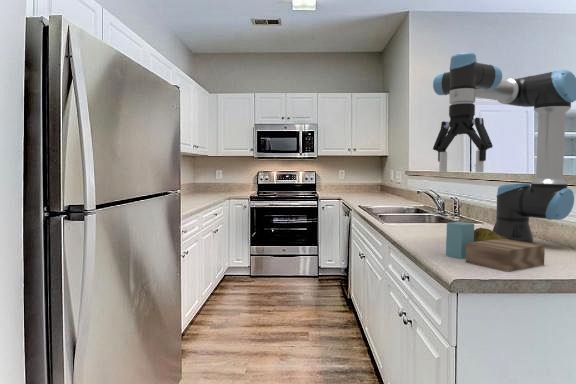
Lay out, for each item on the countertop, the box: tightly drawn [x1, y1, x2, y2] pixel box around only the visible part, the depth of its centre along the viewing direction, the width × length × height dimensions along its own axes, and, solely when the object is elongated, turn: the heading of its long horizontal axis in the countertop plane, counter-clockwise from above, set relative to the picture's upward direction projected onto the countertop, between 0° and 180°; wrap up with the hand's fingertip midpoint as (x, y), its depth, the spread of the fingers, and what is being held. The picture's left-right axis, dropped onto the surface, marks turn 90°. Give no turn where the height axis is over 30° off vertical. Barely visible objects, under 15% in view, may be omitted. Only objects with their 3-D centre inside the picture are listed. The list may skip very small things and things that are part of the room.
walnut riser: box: [465, 239, 546, 272], centre depth 133 cm, size 18×14×6 cm
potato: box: [474, 227, 509, 242], centre depth 153 cm, size 8×13×8 cm, turn 53°
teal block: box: [445, 221, 475, 260], centre depth 143 cm, size 6×6×11 cm
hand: (460, 172), depth 137 cm, fingers open, 13 cm apart
